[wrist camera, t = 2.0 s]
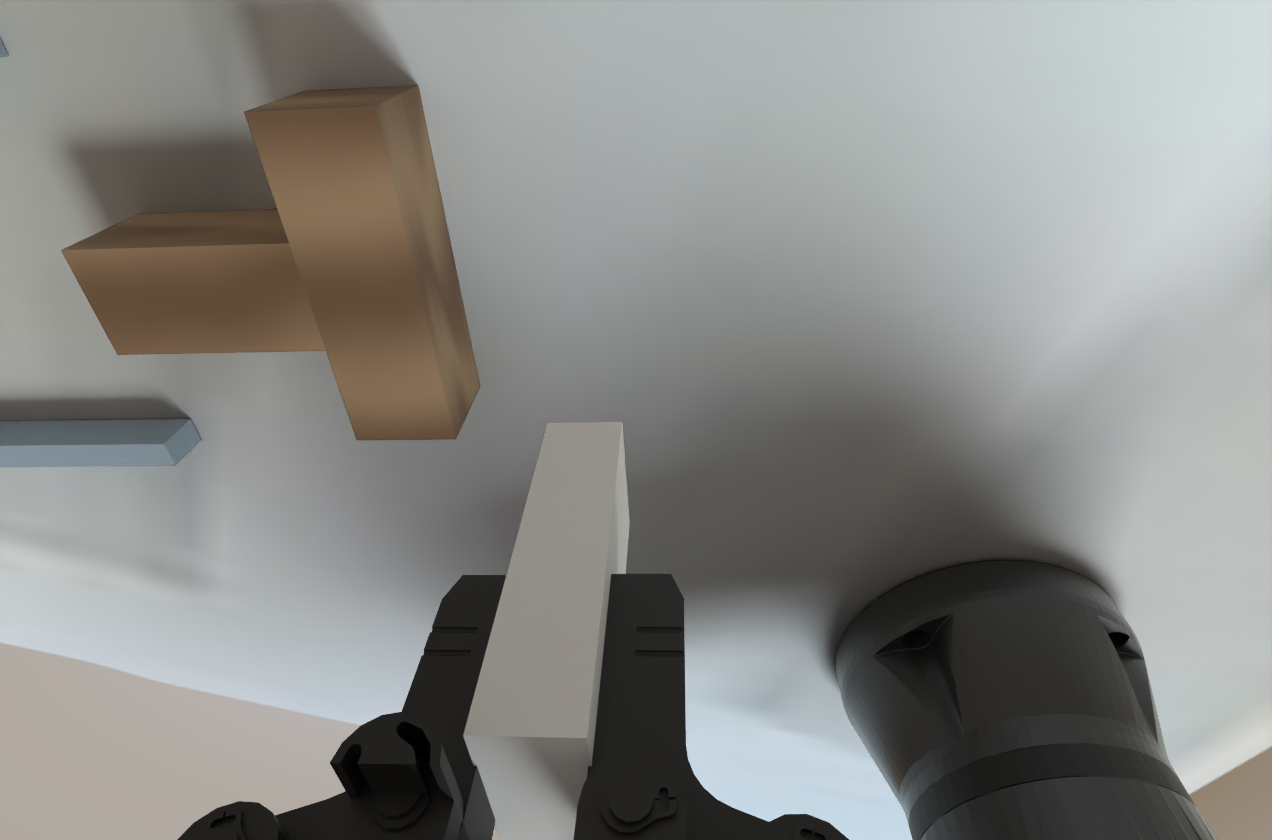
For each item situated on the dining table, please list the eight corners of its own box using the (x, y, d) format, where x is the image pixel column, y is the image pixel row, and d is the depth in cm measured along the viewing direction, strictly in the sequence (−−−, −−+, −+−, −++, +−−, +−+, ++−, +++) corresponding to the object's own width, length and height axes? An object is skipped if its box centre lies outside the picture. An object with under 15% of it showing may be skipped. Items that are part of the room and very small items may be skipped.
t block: (480, 386, 30) (455, 439, 26) (219, 390, 31) (164, 442, 27) (418, 85, 23) (375, 106, 20) (86, 100, 24) (-8, 123, 21)
